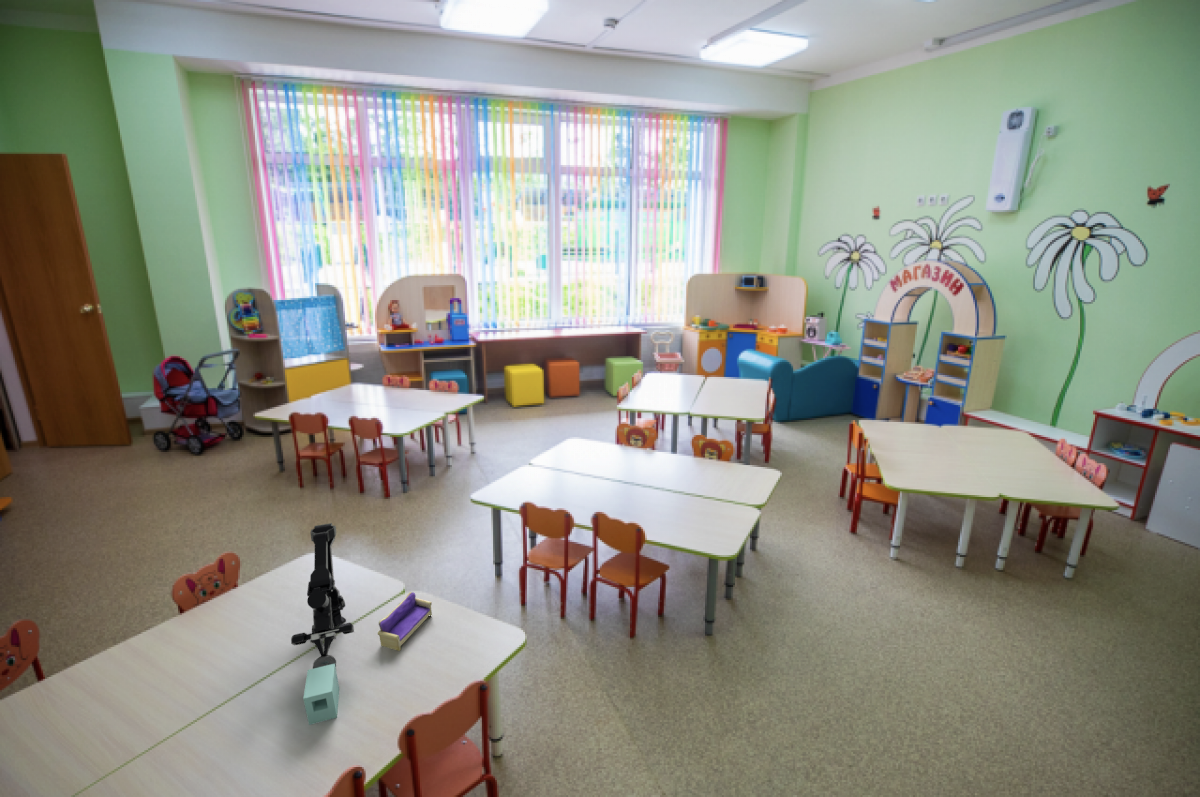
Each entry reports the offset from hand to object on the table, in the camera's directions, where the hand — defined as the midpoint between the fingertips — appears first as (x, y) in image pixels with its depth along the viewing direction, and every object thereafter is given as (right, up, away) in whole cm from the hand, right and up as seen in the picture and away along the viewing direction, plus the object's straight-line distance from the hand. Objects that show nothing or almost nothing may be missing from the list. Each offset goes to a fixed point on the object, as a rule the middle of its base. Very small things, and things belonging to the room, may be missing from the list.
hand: (324, 660), depth 192 cm
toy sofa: (+20, 0, +24) cm, 31 cm away
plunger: (+2, -6, -4) cm, 8 cm away
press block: (+4, -11, -8) cm, 14 cm away
